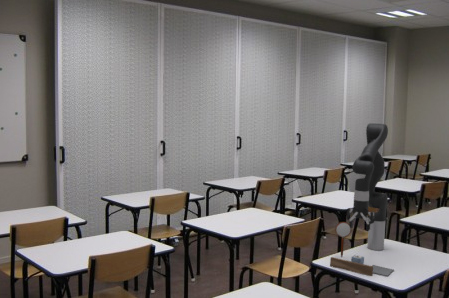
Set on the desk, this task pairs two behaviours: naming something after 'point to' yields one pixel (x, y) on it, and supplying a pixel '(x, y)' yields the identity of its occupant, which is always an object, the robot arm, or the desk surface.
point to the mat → (382, 270)
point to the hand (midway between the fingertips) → (359, 229)
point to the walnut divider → (351, 266)
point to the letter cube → (357, 259)
